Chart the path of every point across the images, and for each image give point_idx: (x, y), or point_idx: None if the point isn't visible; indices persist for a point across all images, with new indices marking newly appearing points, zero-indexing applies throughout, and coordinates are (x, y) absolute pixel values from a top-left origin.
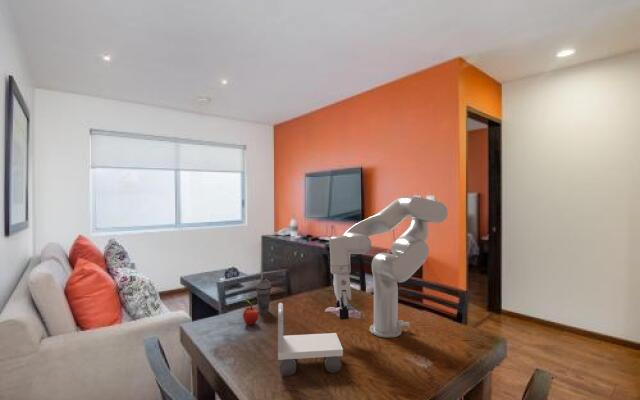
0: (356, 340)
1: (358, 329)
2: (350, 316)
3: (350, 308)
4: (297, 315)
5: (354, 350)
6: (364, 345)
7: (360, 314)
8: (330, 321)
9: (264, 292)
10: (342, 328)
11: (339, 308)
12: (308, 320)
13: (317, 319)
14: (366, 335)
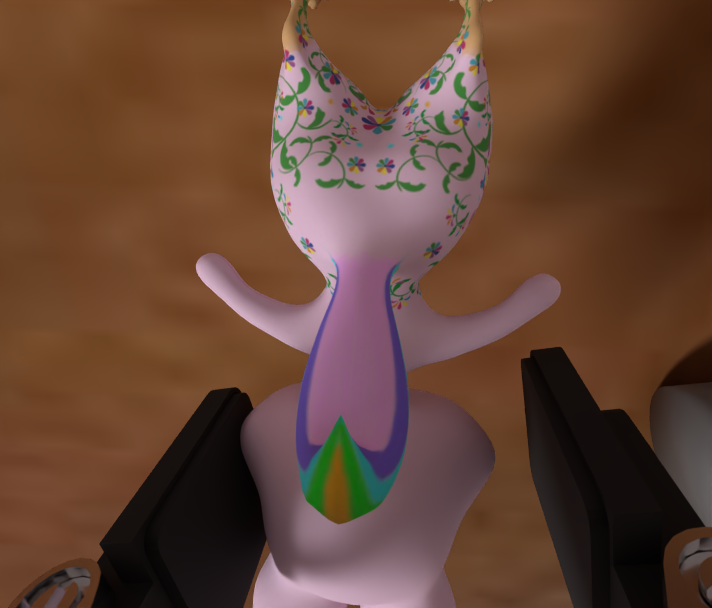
0: None
1: (141, 117)
2: (531, 318)
3: (406, 374)
4: (25, 579)
5: (626, 180)
6: (518, 63)
7: (475, 71)
8: (46, 373)
9: None
10: (158, 278)
11: (393, 588)
12: (83, 520)
13: (44, 464)
14: (270, 26)
